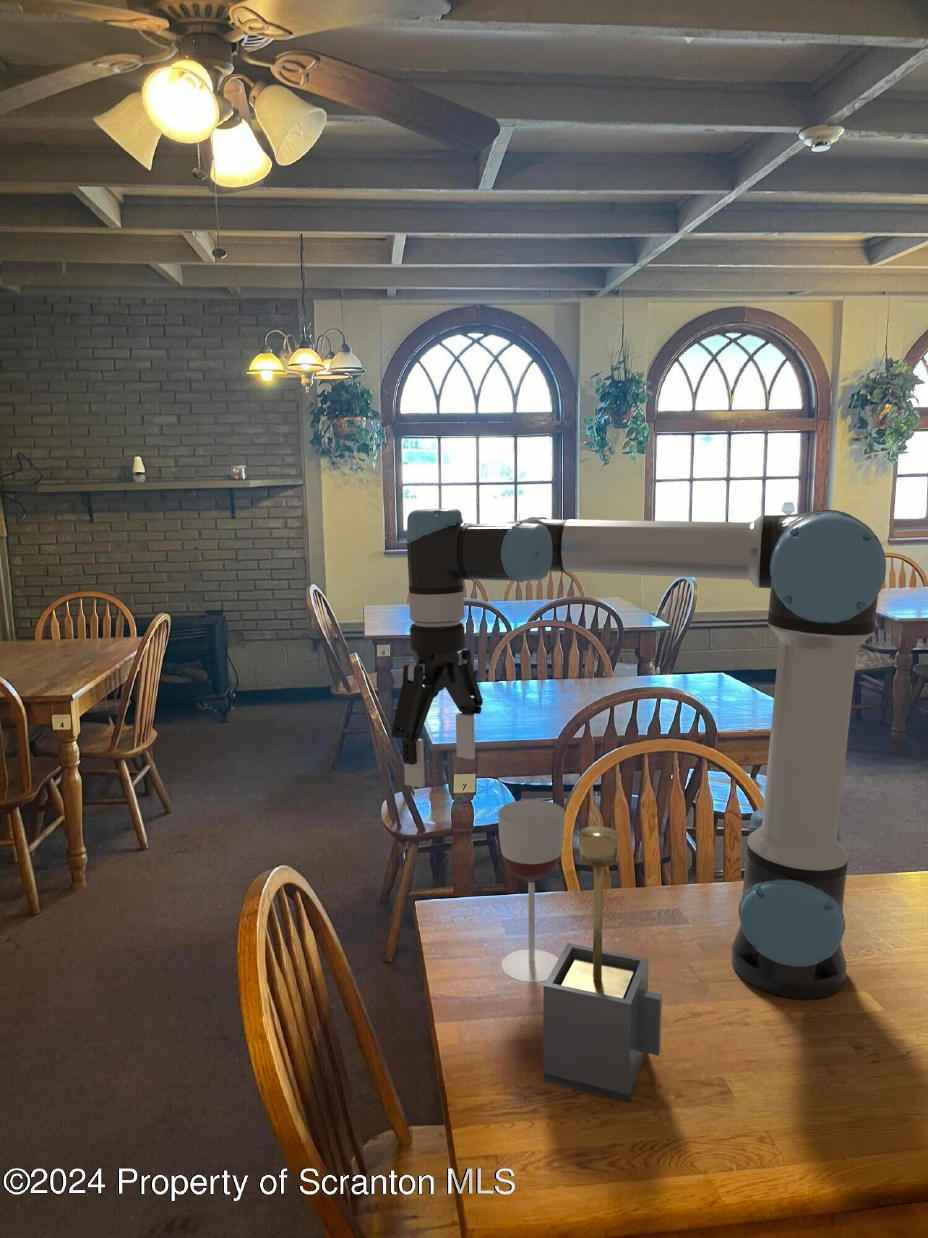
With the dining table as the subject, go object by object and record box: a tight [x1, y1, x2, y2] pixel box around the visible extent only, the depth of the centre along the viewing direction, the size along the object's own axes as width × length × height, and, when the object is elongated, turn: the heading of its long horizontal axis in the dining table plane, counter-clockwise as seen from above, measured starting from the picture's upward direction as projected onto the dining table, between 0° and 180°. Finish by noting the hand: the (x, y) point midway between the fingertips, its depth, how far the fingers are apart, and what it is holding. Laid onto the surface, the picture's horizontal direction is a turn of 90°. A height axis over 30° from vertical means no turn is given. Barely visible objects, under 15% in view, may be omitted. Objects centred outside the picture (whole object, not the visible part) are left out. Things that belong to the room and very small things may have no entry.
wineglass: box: [497, 799, 566, 983], centre depth 125 cm, size 9×10×23 cm
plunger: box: [562, 825, 634, 999], centre depth 102 cm, size 7×7×19 cm
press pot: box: [542, 942, 663, 1104], centre depth 104 cm, size 12×10×12 cm
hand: (441, 771), depth 125 cm, fingers open, 13 cm apart
